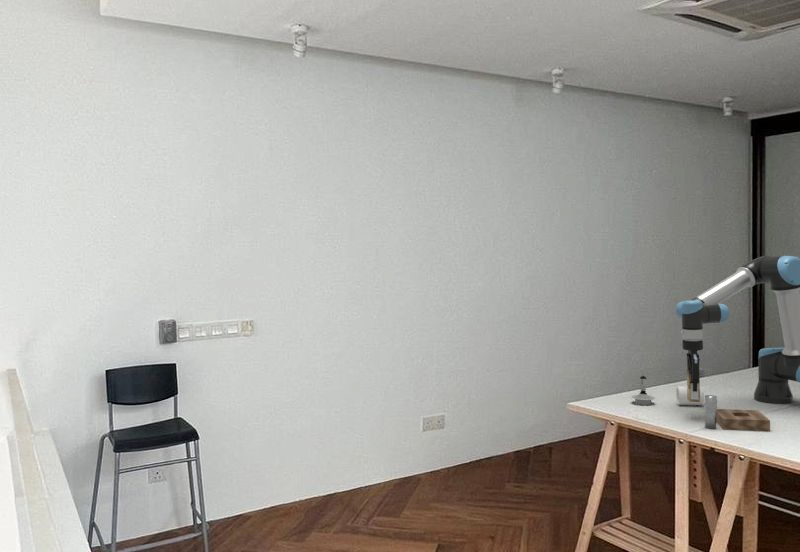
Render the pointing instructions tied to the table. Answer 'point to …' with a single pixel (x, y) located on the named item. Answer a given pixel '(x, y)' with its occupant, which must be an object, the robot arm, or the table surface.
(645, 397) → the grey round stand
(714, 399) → the round bit
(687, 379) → the square bit
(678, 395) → the mug
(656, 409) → the table surface
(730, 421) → the bore block
